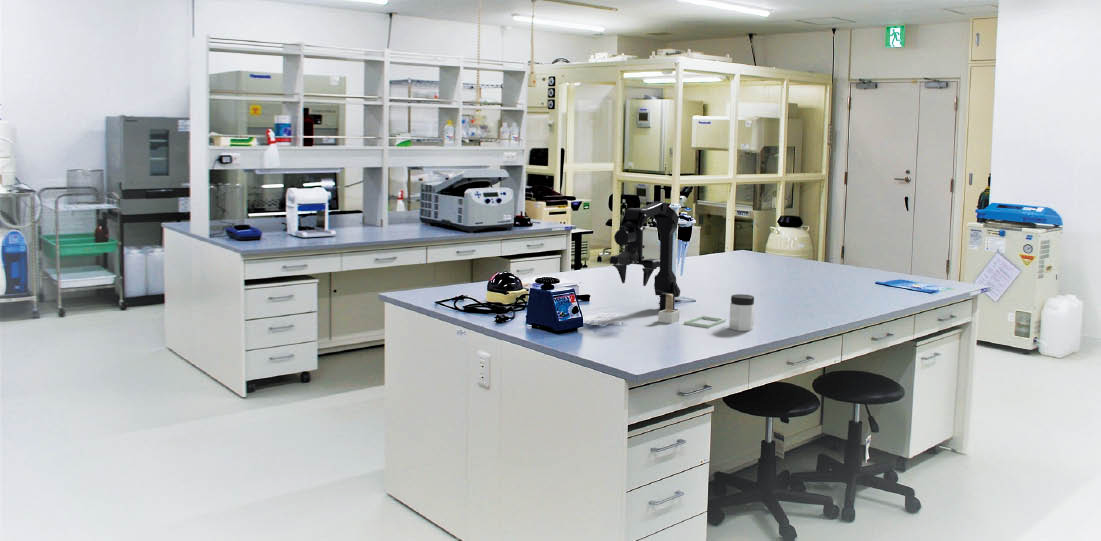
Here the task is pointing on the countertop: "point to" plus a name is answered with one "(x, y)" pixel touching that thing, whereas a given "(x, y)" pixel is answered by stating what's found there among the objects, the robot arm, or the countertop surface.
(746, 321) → the jar
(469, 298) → the countertop surface
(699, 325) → the tray
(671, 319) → the white square tube
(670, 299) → the dowel
